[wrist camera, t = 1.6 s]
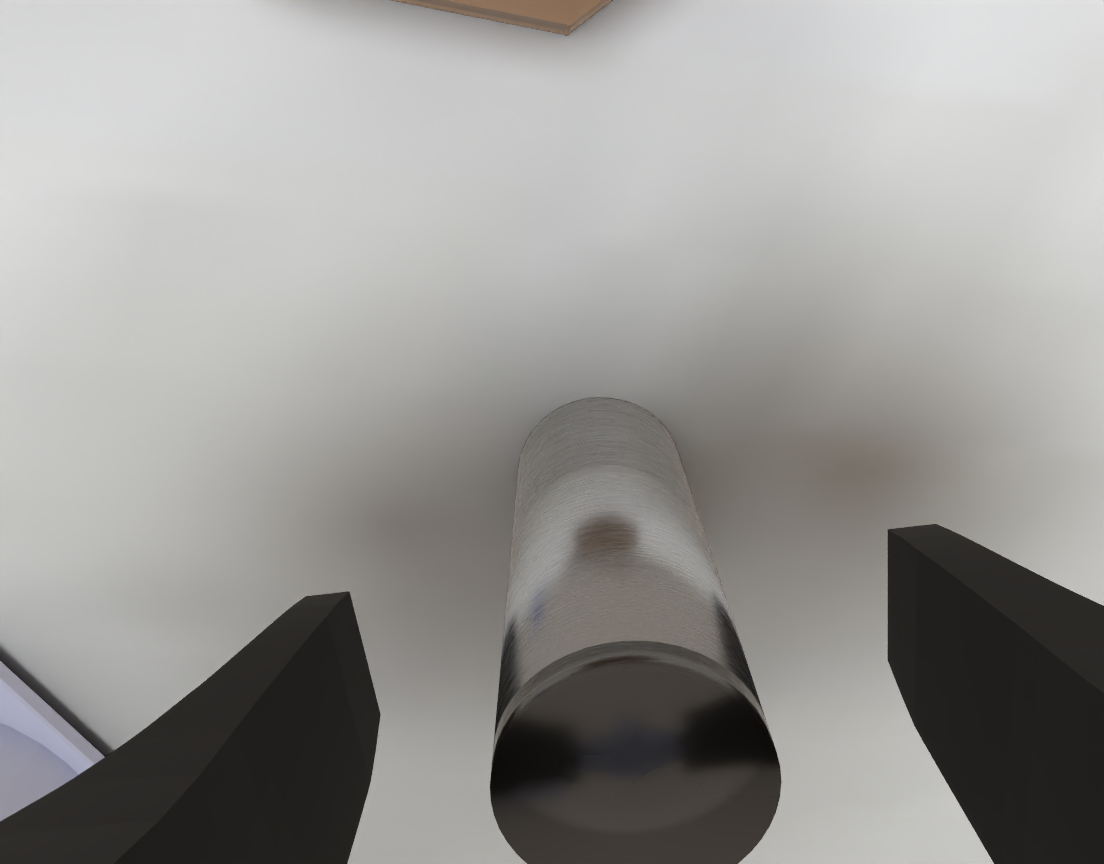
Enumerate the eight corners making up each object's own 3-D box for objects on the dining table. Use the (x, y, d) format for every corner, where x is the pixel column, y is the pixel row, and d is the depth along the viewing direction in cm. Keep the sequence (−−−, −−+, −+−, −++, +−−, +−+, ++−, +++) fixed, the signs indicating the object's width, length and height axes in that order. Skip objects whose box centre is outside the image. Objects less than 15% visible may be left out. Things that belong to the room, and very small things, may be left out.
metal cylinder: (577, 572, 18) (594, 937, 10) (486, 455, 17) (431, 761, 9) (710, 492, 17) (833, 820, 9) (622, 366, 16) (681, 619, 9)
